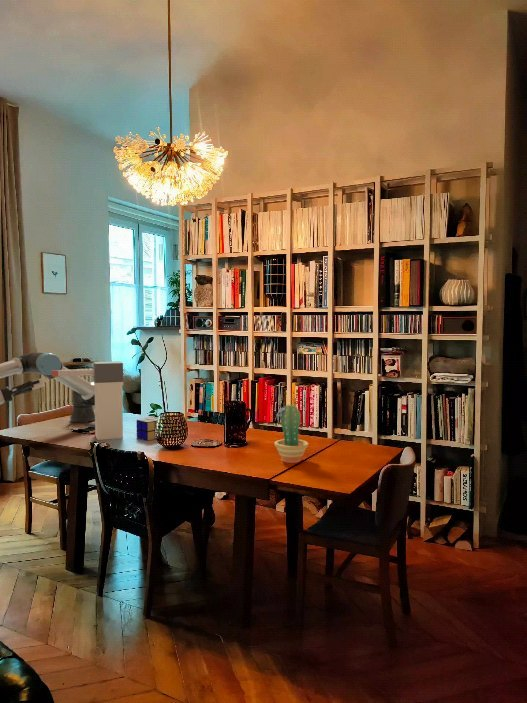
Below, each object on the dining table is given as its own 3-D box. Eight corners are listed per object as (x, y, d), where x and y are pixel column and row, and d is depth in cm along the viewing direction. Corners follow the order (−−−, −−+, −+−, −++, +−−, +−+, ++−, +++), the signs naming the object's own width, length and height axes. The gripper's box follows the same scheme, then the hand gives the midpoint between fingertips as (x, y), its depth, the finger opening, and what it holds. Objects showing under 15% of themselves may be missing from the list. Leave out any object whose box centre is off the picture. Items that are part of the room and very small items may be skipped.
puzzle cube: (136, 438, 286) (136, 419, 285) (152, 435, 293) (151, 417, 293) (147, 441, 279) (147, 422, 279) (163, 438, 286) (162, 419, 286)
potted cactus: (285, 454, 254) (286, 401, 253) (314, 459, 245) (315, 404, 244) (267, 461, 242) (267, 405, 240) (296, 466, 233) (297, 409, 231)
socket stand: (96, 440, 280) (95, 363, 278) (94, 434, 293) (93, 361, 291) (124, 438, 285) (123, 363, 283) (120, 433, 298) (119, 361, 296)
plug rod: (51, 376, 275) (51, 370, 275) (51, 376, 278) (51, 370, 278) (102, 375, 285) (102, 369, 284) (102, 374, 287) (101, 368, 287)
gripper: (4, 405, 281) (46, 391, 291) (4, 399, 259) (49, 384, 269) (-1, 392, 281) (41, 378, 291) (-1, 385, 259) (43, 370, 269)
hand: (45, 381), depth 280 cm, fingers open, 13 cm apart
